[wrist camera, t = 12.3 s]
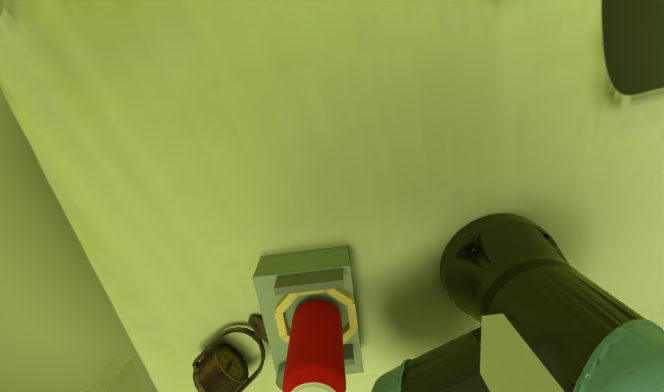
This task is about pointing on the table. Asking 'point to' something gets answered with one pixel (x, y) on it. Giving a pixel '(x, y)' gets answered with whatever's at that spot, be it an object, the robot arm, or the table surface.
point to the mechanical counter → (228, 362)
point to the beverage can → (315, 349)
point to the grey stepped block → (306, 298)
